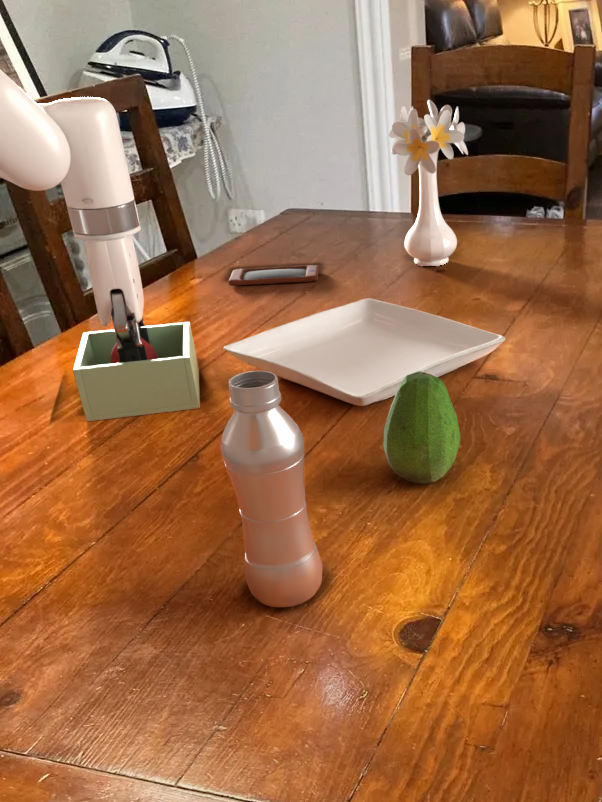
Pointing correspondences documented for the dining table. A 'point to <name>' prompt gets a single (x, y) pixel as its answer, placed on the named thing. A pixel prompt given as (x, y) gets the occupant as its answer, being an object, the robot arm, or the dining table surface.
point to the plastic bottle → (270, 492)
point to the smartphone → (274, 275)
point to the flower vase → (428, 178)
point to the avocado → (421, 429)
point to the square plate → (364, 349)
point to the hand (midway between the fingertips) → (138, 367)
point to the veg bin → (138, 375)
